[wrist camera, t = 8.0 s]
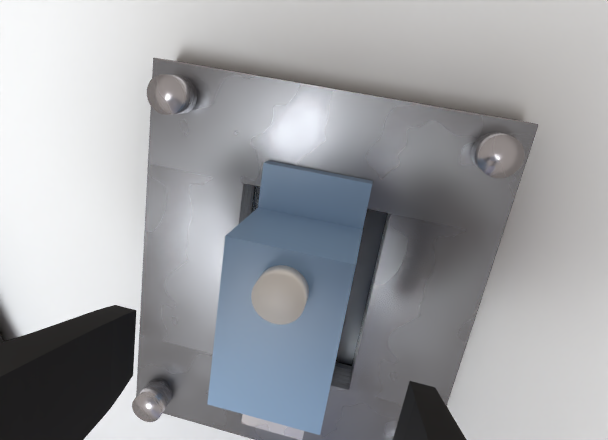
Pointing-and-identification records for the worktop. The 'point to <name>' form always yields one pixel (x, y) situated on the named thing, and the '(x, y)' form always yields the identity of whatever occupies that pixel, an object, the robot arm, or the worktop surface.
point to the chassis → (384, 197)
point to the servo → (287, 295)
